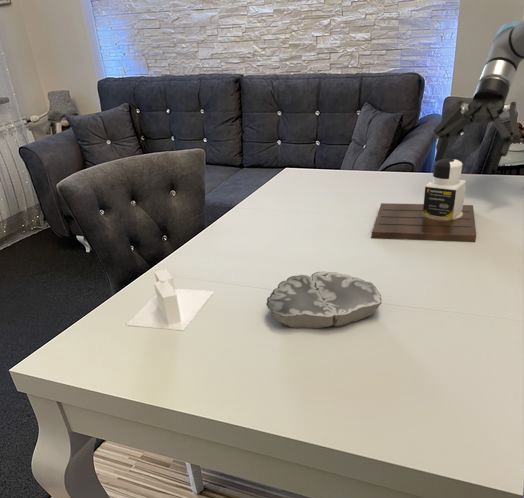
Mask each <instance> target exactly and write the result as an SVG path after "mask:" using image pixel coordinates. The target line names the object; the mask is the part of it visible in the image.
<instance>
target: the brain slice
mask: <svg viewBox="0 0 524 498" xmlns="http://www.w3.org/2000/svg"><path fill="white" fill-rule="evenodd" d="M265 304H266V307H267V308H268V310H269V311H270V314H271V316H272V317H273V318H274V319H276V320H277V322H279V323H280V324H283V325H284V326H288V327H291V328H294V329H299V328H302V329H304V328H305V329H322V328H330V327H331V326H334V327H341V326H346V325H348V324H350V323H355V322H357V321H361V320H362V319H365V318H368V317H370V316H372V314H374V313H375V311H377V310H378V309H379V307H380V306H381V304H382V294H381V293H380V292H379V291H378V288H377V287H376V285H374V284H373V283H372V282H370V281H365V280H363V279H361V278H359V277H353V276H351V275H349V274H343V273H339V272H334V271H330V272H328V271H316V272H314V273H311V275H307V274H299V275H292V276H289V277H287V278H286V280H283V281H281V282H279V283H278V284H277V287H276V288H274V289H273V290H272V292H271V293H270V295H269V296H268V297H267V298H266V303H265Z"/></svg>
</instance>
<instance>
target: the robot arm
mask: <svg viewBox="0 0 524 498" xmlns="http://www.w3.org/2000/svg"><path fill="white" fill-rule="evenodd" d="M522 61H524V20H522V21H521V22H520V21H511V22H506V23H504V24H503V25H502V26H501V27H499V29H498V31H497V33H496V35H495V36H494V39H493V40H492V44H491V47H490V50H489V52H488V55H487V58H486V62H485V64H484V67H483V70H482V72H481V75H480V78H479V80H478V83H477V86H476V88H475V90H474V93H473V97H472V100H471V101H470V102H469V103H466V102H464V101H463V100H458V101H457V102H456V105H455V107H454V108H453V109H452V111H450V112H449V114H448V115H447V116H446V117H445V118H444V119H443V120H442V121H441V122H440V123H439V124H438V125H437V126H436V128H434V129H433V134H434V136H435V139H438V140H437V143H436V145H435V149H436V155H435V158H434V162H436V161H438V160H441V159H444V155H445V153H446V150H447V147H448V146H449V139H450V138H452V137H453V136H454V135H456V134H457V133H458V132H460V131H461V130H462V129H464V128H466V127H467V126H470V125H472V124H473V123H475V124H482V123H483V124H489V123H491V122H492V124H493V126H494V127H495V128H496V130H497V131H498V133H499V135H500V136H501V138H500V141H499V144H498V147H497V149H496V152H495V154H494V158H493V160H492V163H491V166H492V170H493V171H497V170H498V168H499V165H500V162H501V160H502V157H506V156H507V155H508V153H509V150H510V147H511V146H512V145H513V144H519V143H521V132H520V129H519V124H518V120H517V102H516V101H511V102H510V103H509V104H505V103H506V101H507V99H508V95H509V92H510V89H511V87H512V84H513V81H514V78H515V76H516V73H517V71H518V68H519V65H520V63H521V62H522ZM504 112H506V113H505V114H506V115H508V116H509V121H510V126H511V130H512V131H511V132H512V134H511V133H510V132H509V130H508V129H507V127H506V125H505V124H504V122H503V120H502V119H501V117H500V115H501V114H503V113H504ZM462 114H463V115H462Z"/></svg>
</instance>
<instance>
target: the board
mask: <svg viewBox="0 0 524 498" xmlns="http://www.w3.org/2000/svg"><path fill="white" fill-rule="evenodd" d="M423 206H424V203H385V202H384V203H383V202H381V203H380V204H379V208H378V210H377V214H376V217H375V220H374V224H373V225H372V226H373V227H372V230H371V236H370V237H371V239H391V240H413V241H415V240H419V241H441V242H442V240H443V242H471V243H472V242H473V243H475V242H476V240H477V228H476V220H475V219H476V218H475V213H474V212H475V211H474V210H475V209H474V205H473V204H463V209H462V211H461V212H460V213H458V214H457V215H456V216H455V217H454V218H453V219H446V218H439V217H431V216H424V215H423Z"/></svg>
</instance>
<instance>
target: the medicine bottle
mask: <svg viewBox="0 0 524 498" xmlns="http://www.w3.org/2000/svg"><path fill="white" fill-rule="evenodd" d="M462 170H463V162H462V161H461V160H458V159H456V158H443V159H441V160H438V161H434V164H433V169H432V180H431V181H430V182H428V183H427V184H425V187H424V196H423V204H424V206H423V215H424V216H431V217H439V218H446V219H453V218H454V217H455V216H456V215H457V214H458V213H460V212H461V211H462V209H463V205H464V201H465V193H466V186H467V180H465V179H461V177H462Z"/></svg>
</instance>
